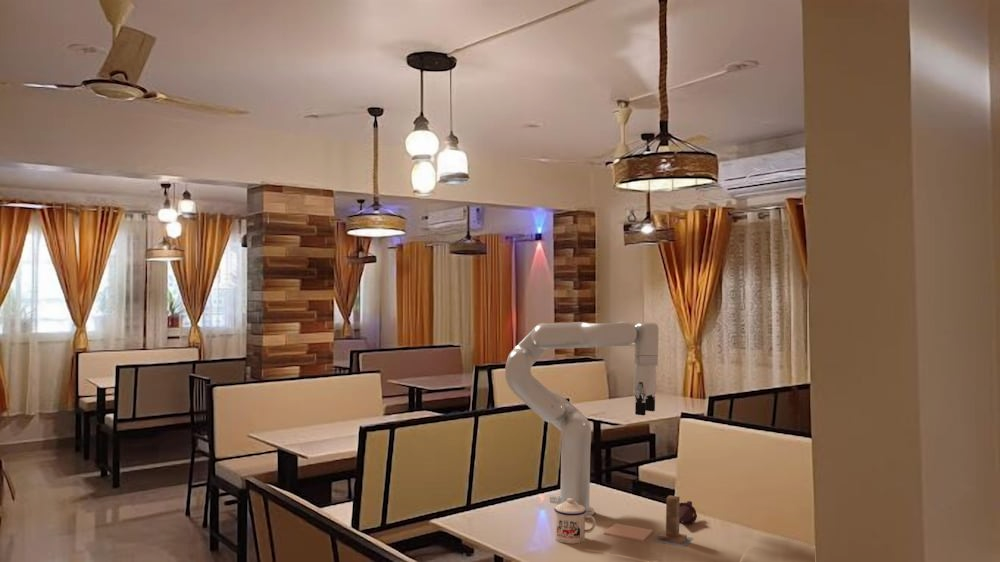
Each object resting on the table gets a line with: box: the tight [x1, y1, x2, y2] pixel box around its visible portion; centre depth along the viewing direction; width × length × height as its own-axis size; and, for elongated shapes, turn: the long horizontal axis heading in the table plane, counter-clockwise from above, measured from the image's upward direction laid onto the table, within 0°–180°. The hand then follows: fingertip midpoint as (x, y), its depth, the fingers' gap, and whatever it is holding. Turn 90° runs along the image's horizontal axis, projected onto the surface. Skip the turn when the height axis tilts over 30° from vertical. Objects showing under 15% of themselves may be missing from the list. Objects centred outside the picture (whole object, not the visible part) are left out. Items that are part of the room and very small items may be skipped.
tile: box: [603, 523, 654, 542], centre depth 214 cm, size 12×2×10 cm
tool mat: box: [651, 531, 694, 548], centre depth 209 cm, size 10×9×1 cm
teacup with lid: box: [554, 498, 597, 545], centre depth 209 cm, size 12×9×12 cm
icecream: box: [679, 500, 698, 525], centre depth 225 cm, size 7×7×15 cm
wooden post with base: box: [657, 495, 688, 544], centre depth 209 cm, size 7×5×12 cm
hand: (645, 412), depth 234 cm, fingers open, 9 cm apart
